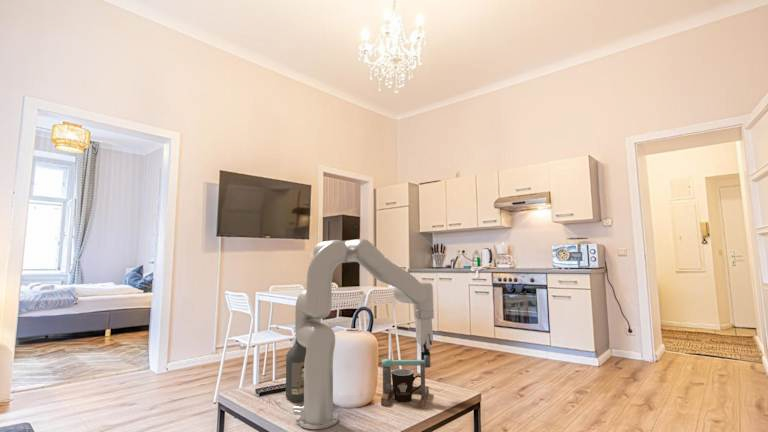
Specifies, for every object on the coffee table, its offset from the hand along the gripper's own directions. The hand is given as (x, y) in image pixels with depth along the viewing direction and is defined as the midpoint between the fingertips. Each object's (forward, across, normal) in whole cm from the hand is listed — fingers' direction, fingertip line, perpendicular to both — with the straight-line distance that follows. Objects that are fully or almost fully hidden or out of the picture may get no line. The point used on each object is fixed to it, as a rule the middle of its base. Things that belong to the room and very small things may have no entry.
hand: (425, 362), depth 154 cm
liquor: (+12, -6, -49) cm, 51 cm away
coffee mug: (+13, +4, -9) cm, 16 cm away
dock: (+12, +3, -8) cm, 15 cm away
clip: (+1, +2, -8) cm, 9 cm away
